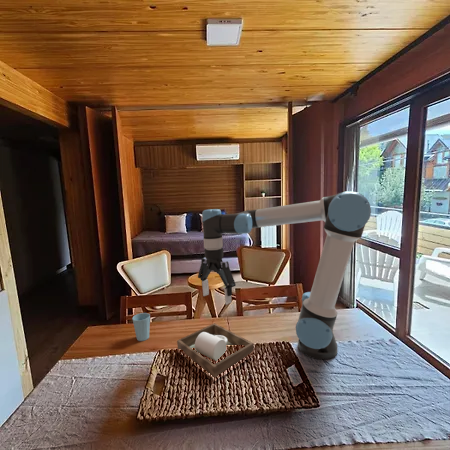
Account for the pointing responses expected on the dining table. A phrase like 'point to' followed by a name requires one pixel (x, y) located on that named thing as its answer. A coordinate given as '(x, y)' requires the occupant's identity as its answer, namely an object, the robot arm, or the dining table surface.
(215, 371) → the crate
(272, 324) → the dining table surface
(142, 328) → the cup
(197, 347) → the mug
